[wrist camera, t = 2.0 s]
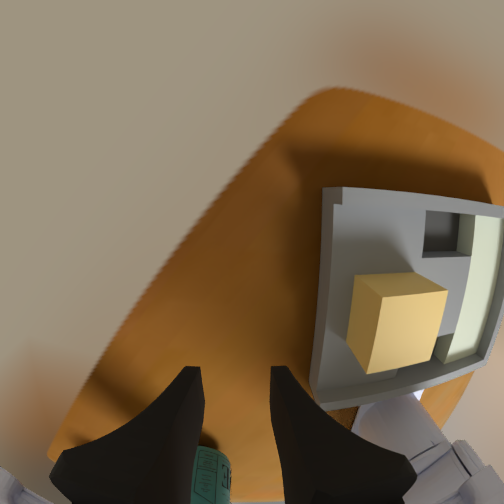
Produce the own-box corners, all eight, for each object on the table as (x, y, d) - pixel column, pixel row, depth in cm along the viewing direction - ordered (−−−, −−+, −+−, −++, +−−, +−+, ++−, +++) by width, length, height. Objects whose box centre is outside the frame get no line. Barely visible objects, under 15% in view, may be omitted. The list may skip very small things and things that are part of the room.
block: (402, 333, 18) (429, 360, 14) (345, 341, 18) (366, 374, 14) (414, 271, 17) (448, 290, 13) (354, 274, 17) (382, 297, 13)
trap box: (465, 348, 22) (485, 365, 18) (308, 381, 21) (318, 412, 17) (493, 205, 18) (520, 210, 15) (322, 187, 18) (342, 186, 14)
